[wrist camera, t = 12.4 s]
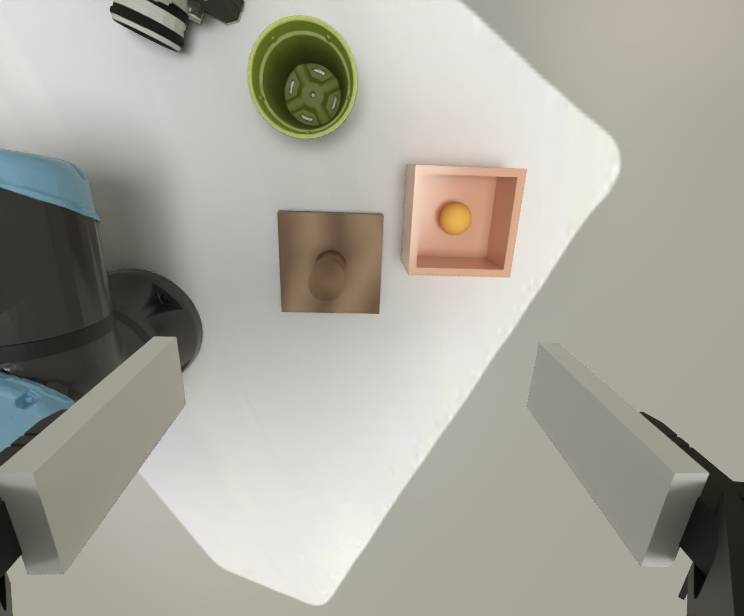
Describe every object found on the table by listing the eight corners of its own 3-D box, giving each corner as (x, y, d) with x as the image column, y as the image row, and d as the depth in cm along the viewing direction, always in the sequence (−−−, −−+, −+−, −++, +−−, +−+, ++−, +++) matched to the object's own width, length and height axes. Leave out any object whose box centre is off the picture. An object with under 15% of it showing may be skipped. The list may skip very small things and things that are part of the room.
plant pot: (343, 155, 44) (341, 152, 36) (260, 128, 43) (238, 119, 35) (367, 63, 41) (370, 38, 33) (278, 31, 40) (259, -3, 32)
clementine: (435, 231, 47) (441, 237, 43) (437, 200, 45) (444, 203, 42) (465, 232, 47) (473, 238, 43) (468, 201, 46) (477, 204, 42)
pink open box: (400, 260, 49) (408, 274, 42) (406, 164, 45) (415, 164, 38) (489, 262, 49) (509, 277, 43) (502, 168, 46) (526, 169, 39)
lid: (283, 308, 50) (268, 338, 41) (279, 211, 46) (261, 221, 37) (378, 310, 50) (383, 340, 42) (382, 214, 46) (389, 225, 38)
